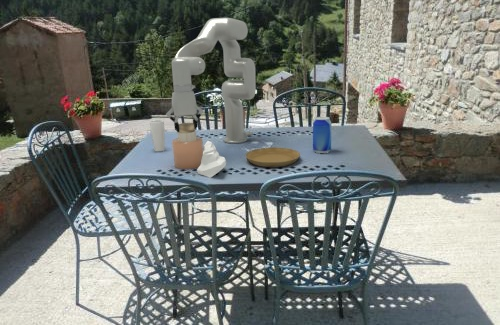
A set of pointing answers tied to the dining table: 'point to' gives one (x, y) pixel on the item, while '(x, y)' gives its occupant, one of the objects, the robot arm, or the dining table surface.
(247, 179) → the dining table surface
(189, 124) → the stopper
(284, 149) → the plant saucer
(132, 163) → the dining table surface
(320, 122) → the beer can
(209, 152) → the soft serve ice cream
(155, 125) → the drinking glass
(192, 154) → the orange jar
